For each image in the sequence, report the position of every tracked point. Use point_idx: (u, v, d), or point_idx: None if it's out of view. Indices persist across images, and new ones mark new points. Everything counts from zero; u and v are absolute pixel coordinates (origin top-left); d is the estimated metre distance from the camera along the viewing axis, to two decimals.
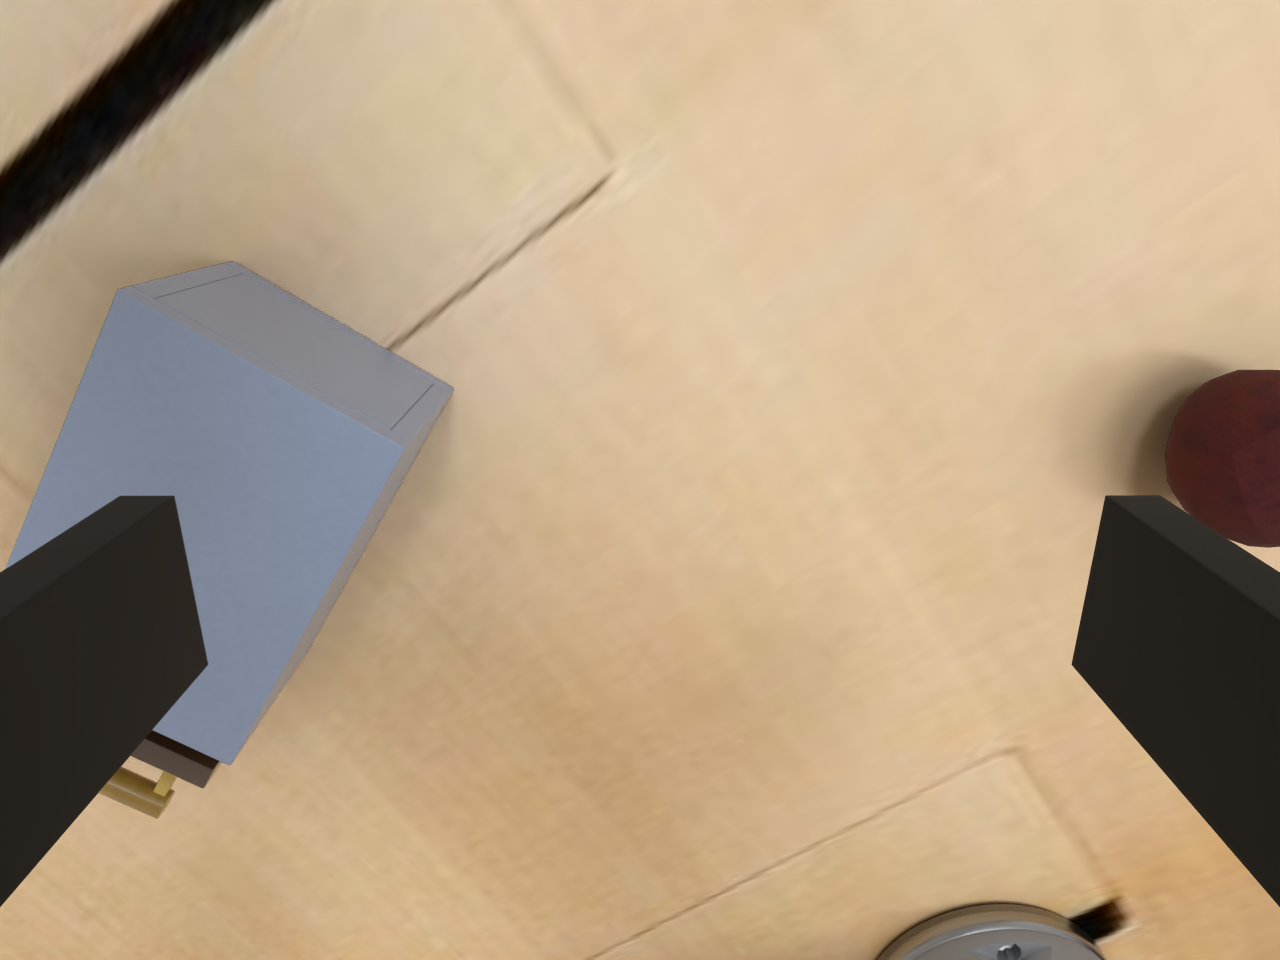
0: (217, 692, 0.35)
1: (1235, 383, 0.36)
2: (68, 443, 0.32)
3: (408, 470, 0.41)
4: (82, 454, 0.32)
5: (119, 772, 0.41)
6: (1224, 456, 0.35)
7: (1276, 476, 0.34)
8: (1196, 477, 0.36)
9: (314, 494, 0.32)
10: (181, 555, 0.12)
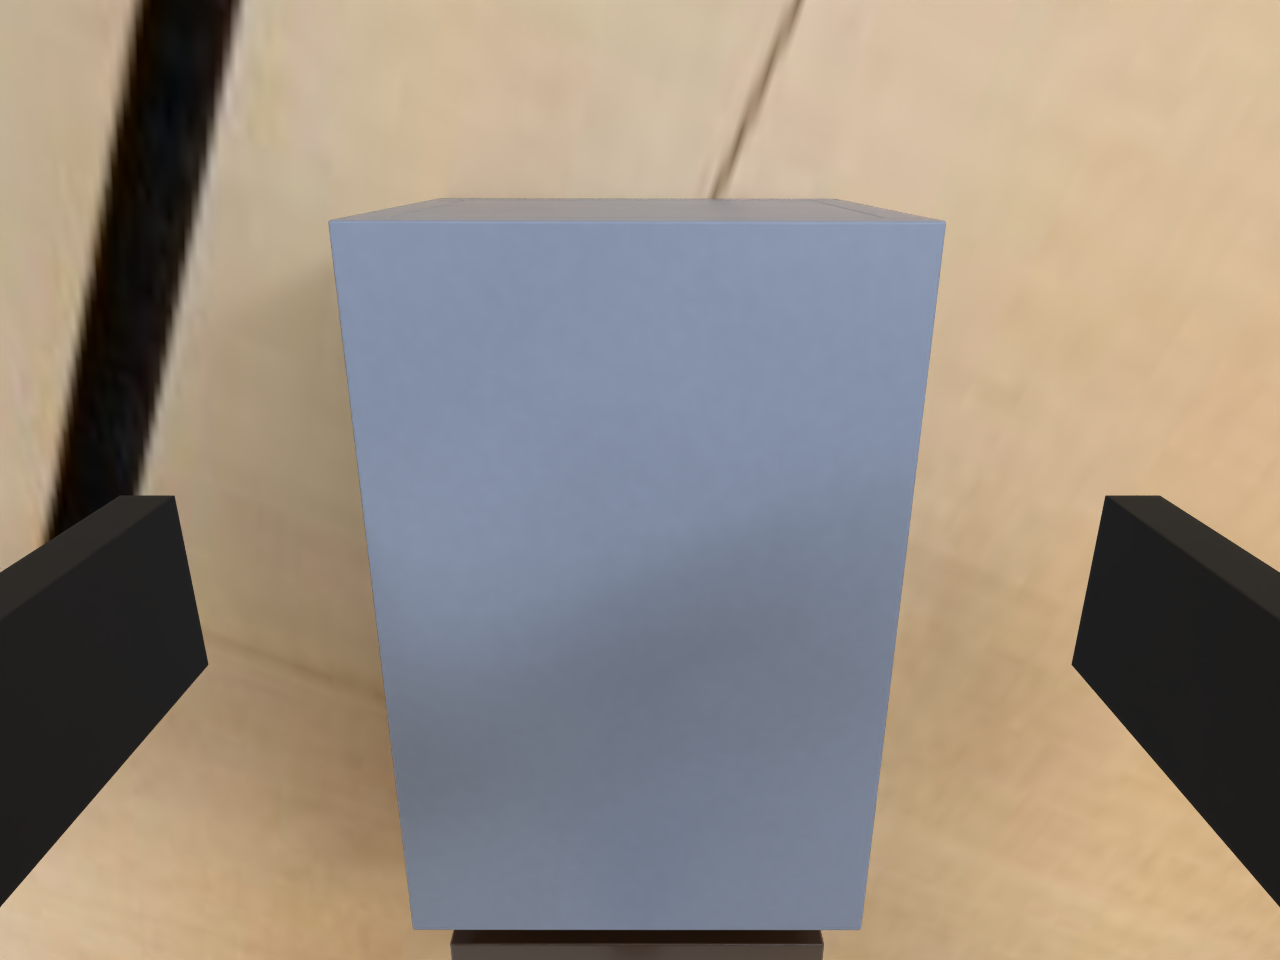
0: (793, 828, 0.20)
1: None
2: (386, 544, 0.17)
3: None
4: (415, 551, 0.18)
5: None
6: None
7: None
8: None
9: (816, 407, 0.16)
10: (181, 555, 0.12)
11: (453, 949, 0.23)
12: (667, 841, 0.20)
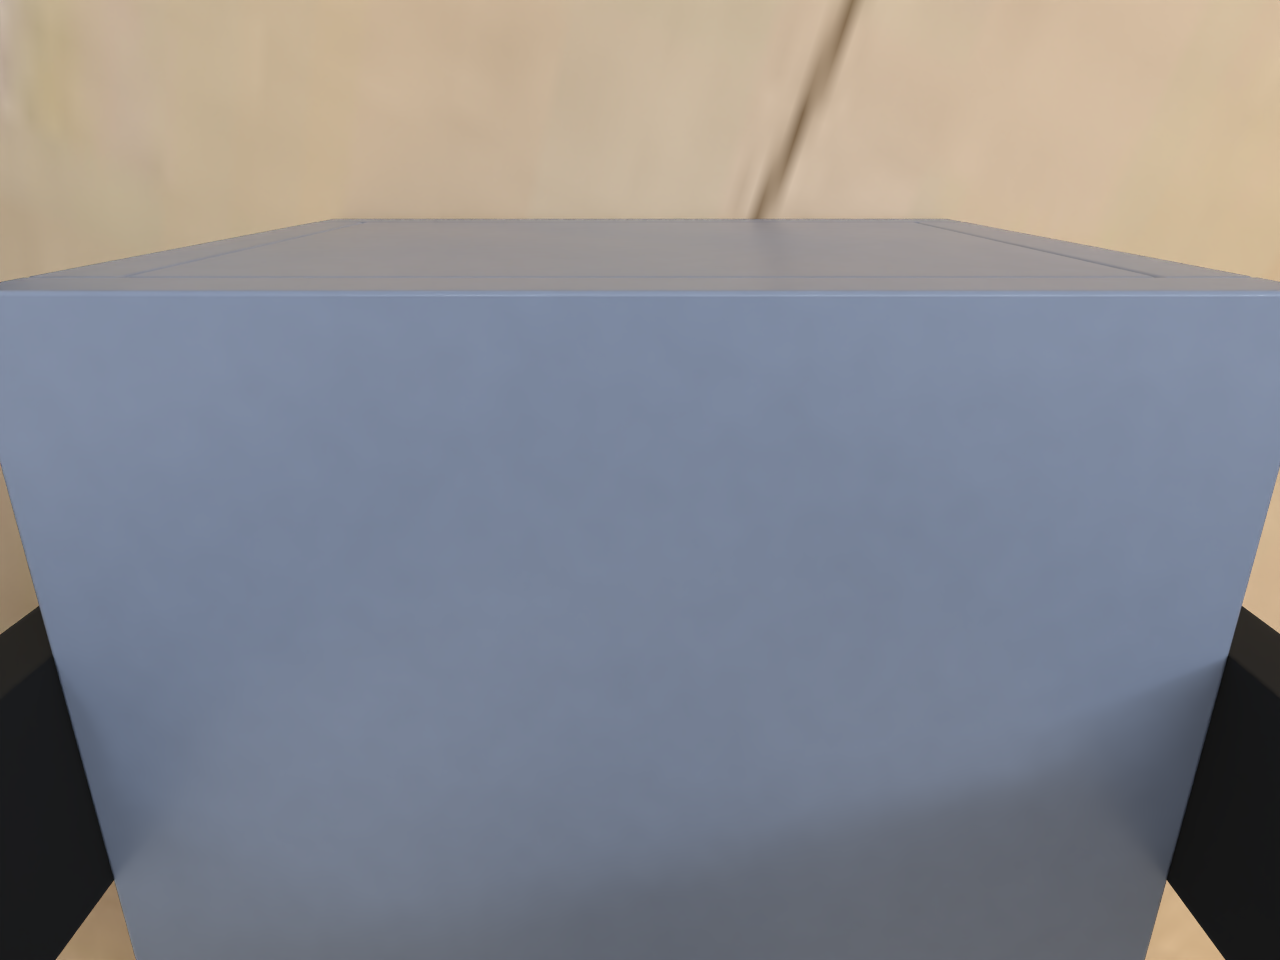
0: None
1: None
2: (157, 899, 0.09)
3: None
4: (214, 910, 0.09)
5: None
6: None
7: None
8: None
9: (1007, 661, 0.08)
10: None
11: None
12: None
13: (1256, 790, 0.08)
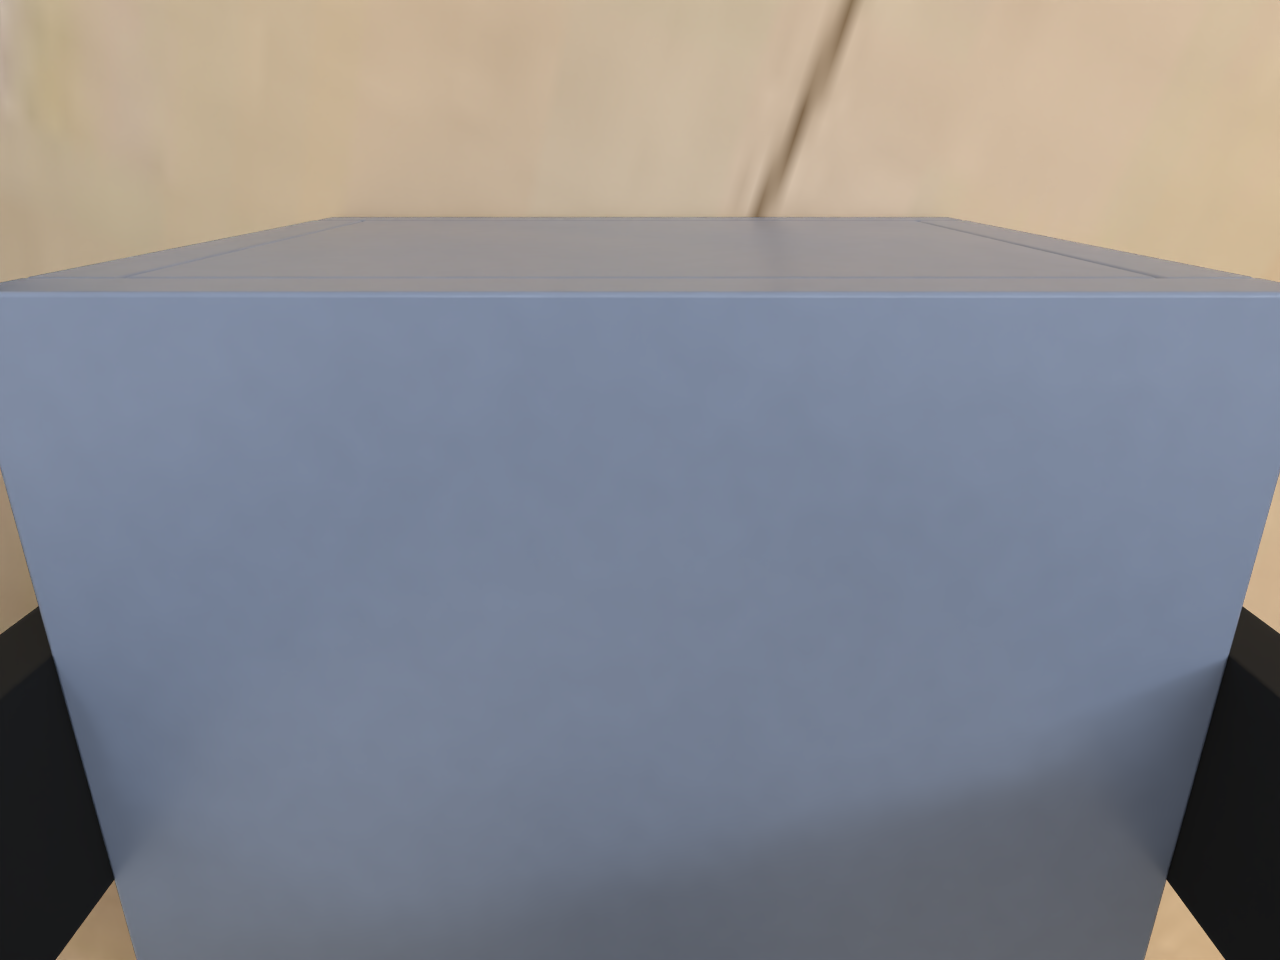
0: None
1: None
2: (157, 899, 0.09)
3: None
4: (214, 910, 0.09)
5: None
6: None
7: None
8: None
9: (1007, 662, 0.08)
10: None
11: None
12: None
13: (1256, 790, 0.08)
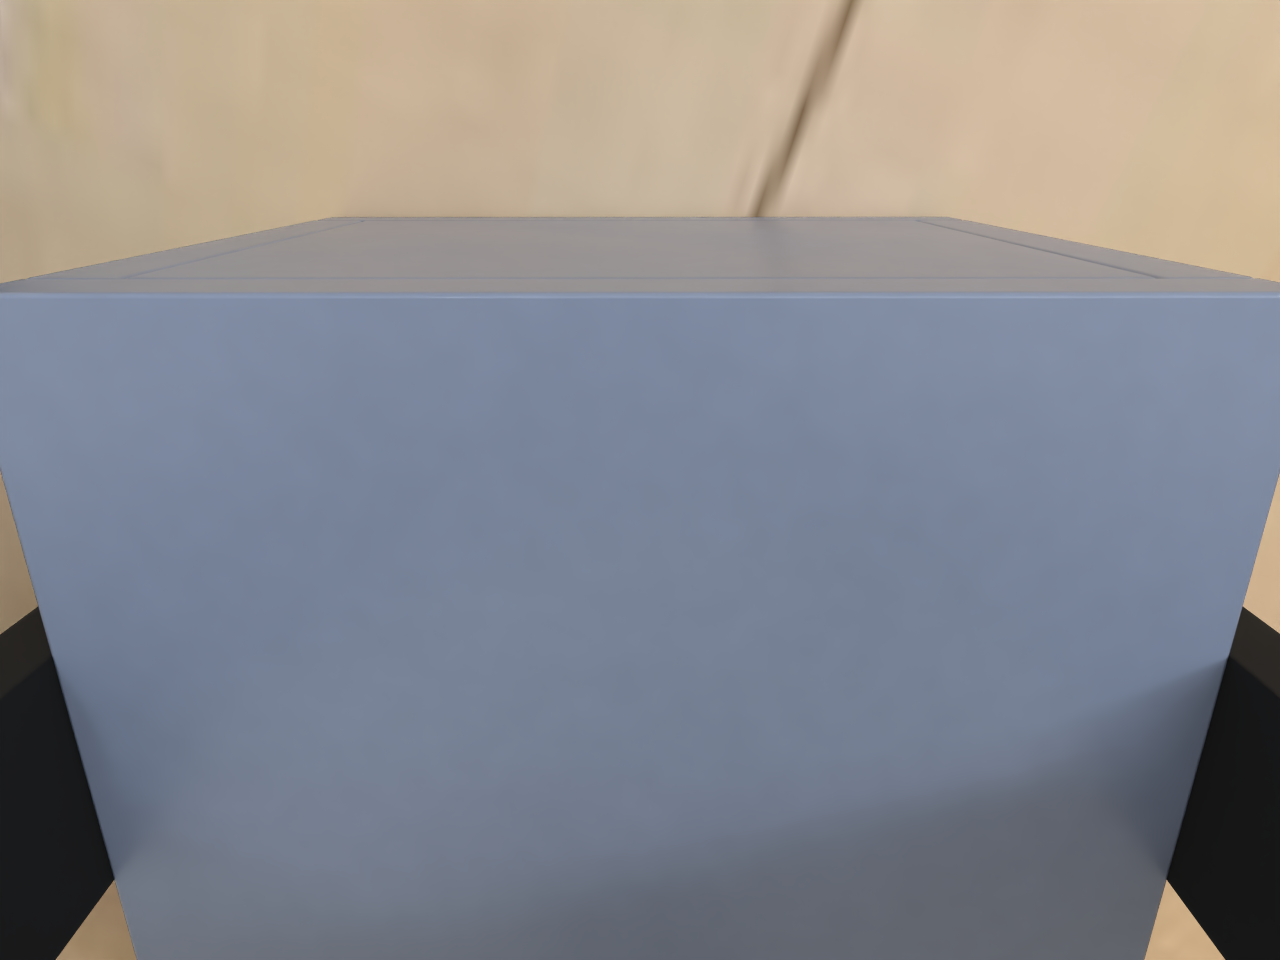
0: None
1: None
2: (158, 900, 0.09)
3: None
4: (215, 910, 0.09)
5: None
6: None
7: None
8: None
9: (1007, 662, 0.08)
10: None
11: None
12: None
13: (1256, 790, 0.08)
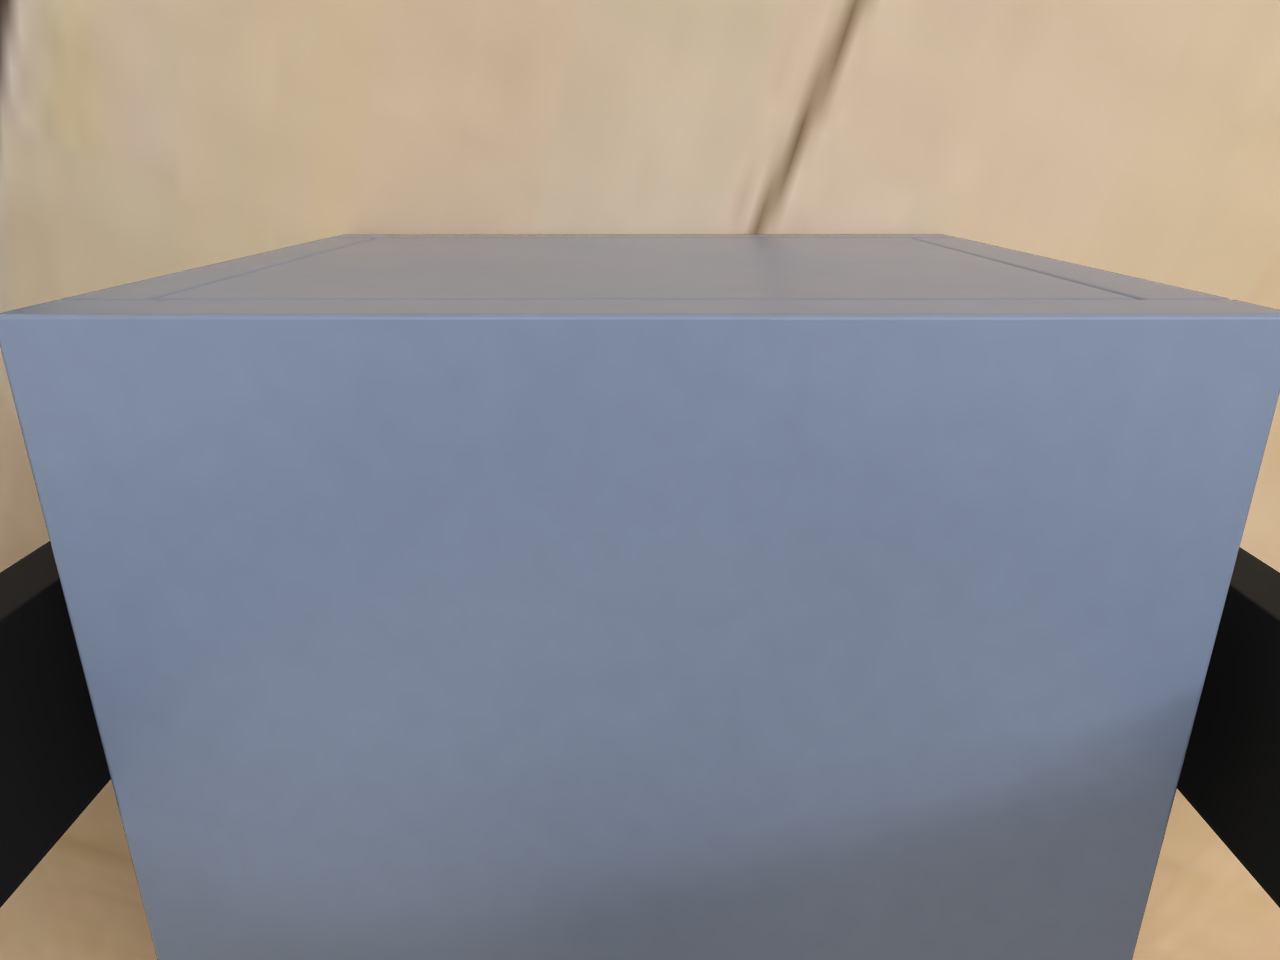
0: None
1: None
2: (177, 897, 0.09)
3: None
4: (232, 907, 0.09)
5: None
6: None
7: None
8: None
9: (996, 667, 0.08)
10: None
11: None
12: None
13: None
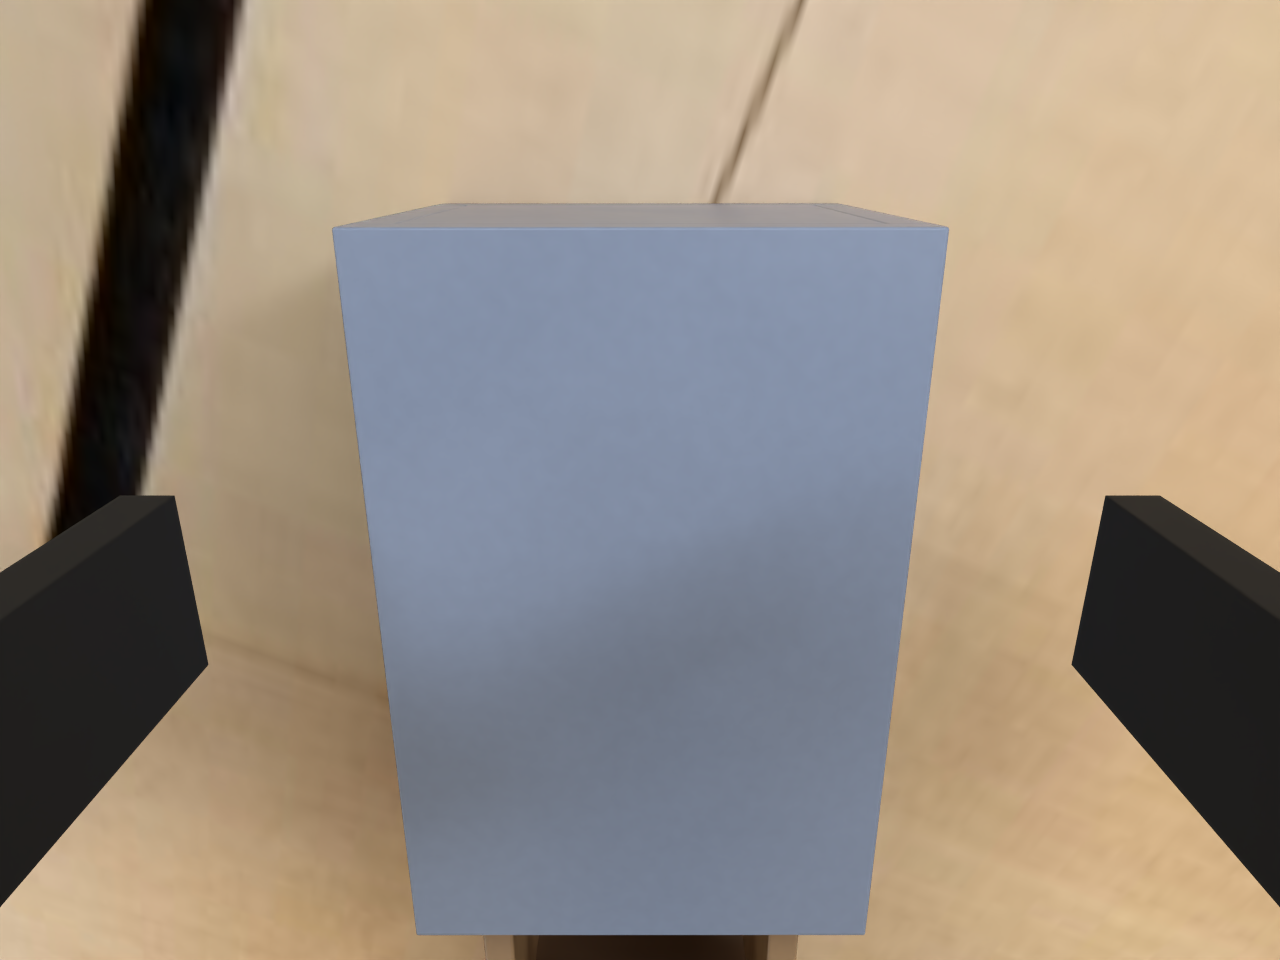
0: (797, 833, 0.20)
1: None
2: (390, 550, 0.18)
3: None
4: (419, 556, 0.18)
5: None
6: None
7: None
8: None
9: (819, 412, 0.16)
10: (181, 555, 0.12)
11: None
12: (671, 846, 0.20)
13: None
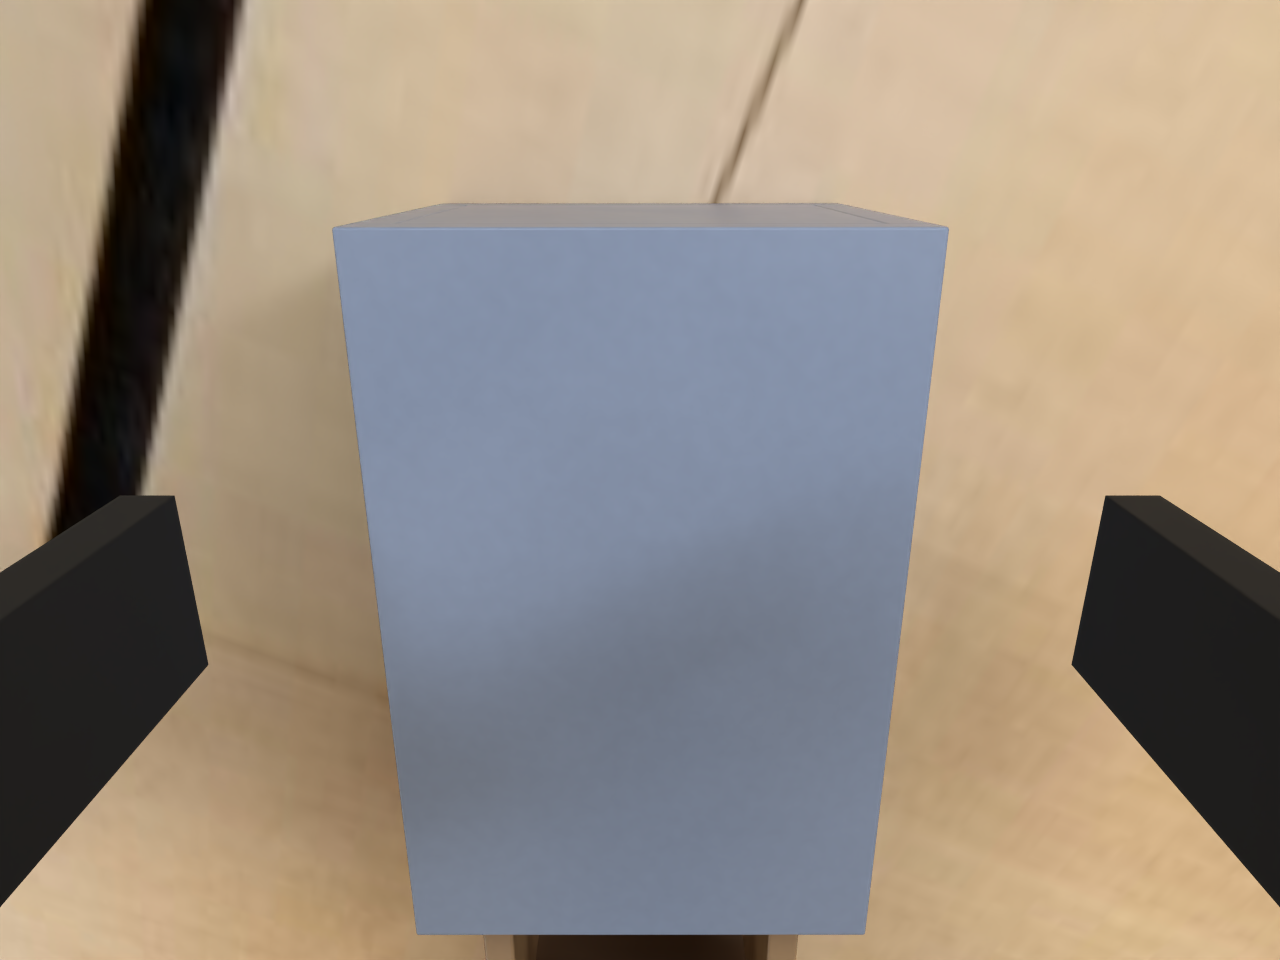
0: (797, 833, 0.20)
1: None
2: (390, 550, 0.18)
3: None
4: (419, 556, 0.18)
5: None
6: None
7: None
8: None
9: (819, 412, 0.17)
10: (181, 555, 0.12)
11: None
12: (671, 846, 0.20)
13: None
